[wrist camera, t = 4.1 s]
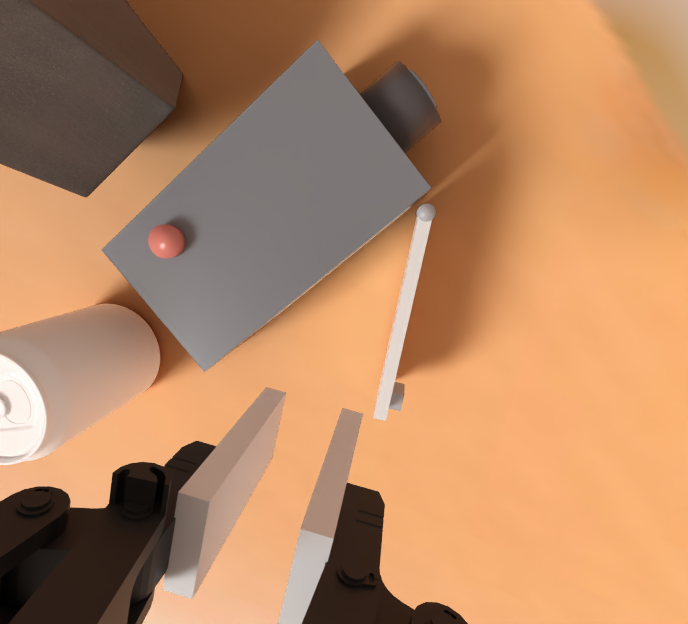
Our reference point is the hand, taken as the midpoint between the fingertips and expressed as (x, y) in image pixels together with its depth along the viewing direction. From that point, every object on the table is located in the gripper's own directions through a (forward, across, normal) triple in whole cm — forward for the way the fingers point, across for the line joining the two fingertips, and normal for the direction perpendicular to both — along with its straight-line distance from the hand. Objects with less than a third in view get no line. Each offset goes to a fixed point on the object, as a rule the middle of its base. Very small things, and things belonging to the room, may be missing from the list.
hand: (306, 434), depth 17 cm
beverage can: (+19, -19, -8) cm, 28 cm away
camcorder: (+18, -6, +7) cm, 21 cm away
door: (+18, +3, +3) cm, 19 cm away
